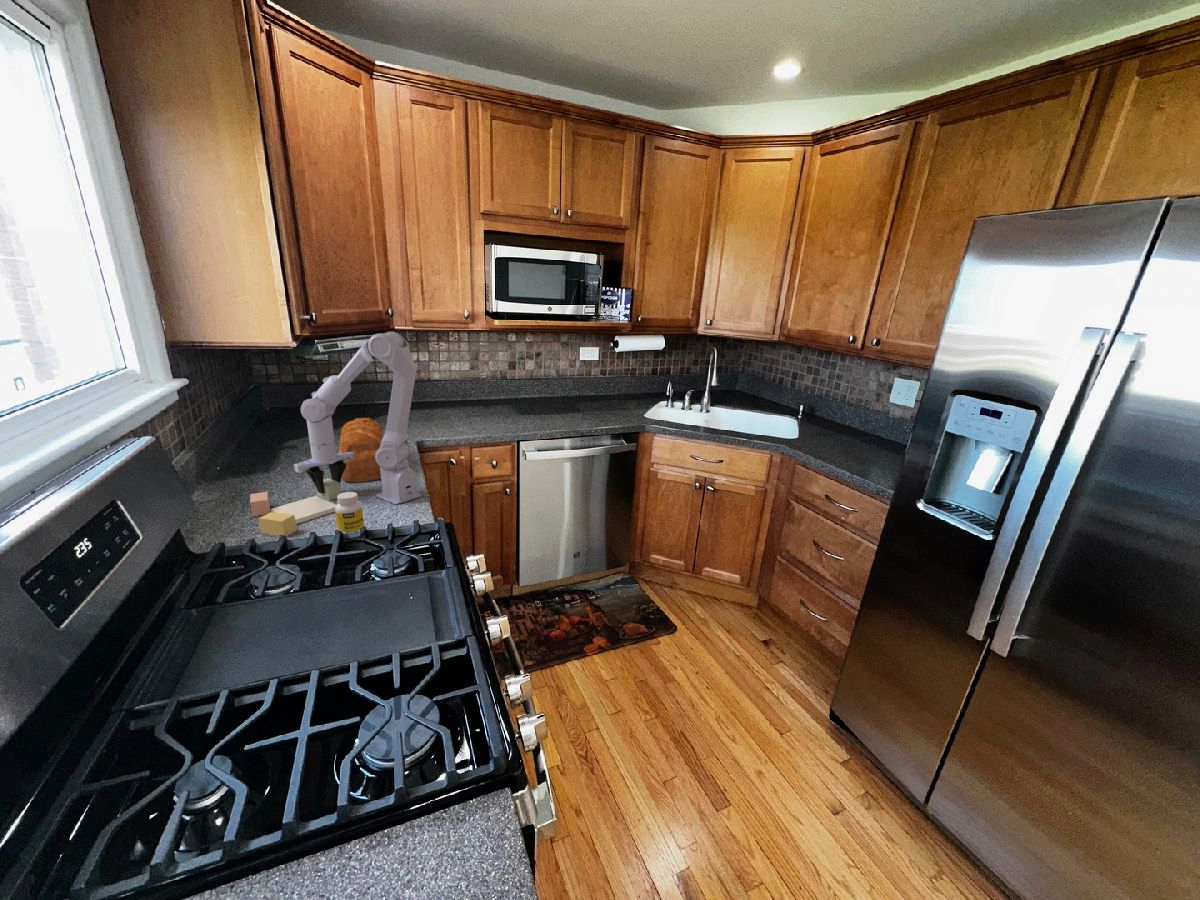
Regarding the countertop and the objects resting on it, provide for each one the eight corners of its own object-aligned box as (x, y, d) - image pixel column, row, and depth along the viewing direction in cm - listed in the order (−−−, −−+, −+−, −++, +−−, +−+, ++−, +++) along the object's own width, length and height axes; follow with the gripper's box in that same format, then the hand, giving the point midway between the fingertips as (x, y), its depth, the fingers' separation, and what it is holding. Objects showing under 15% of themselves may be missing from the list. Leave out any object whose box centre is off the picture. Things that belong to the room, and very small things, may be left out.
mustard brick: (296, 530, 109) (294, 514, 108) (284, 537, 106) (282, 521, 105) (274, 527, 110) (271, 512, 109) (261, 534, 107) (258, 518, 106)
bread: (387, 455, 165) (383, 411, 161) (391, 479, 143) (386, 430, 138) (343, 458, 160) (337, 414, 155) (339, 485, 137) (332, 434, 132)
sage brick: (342, 496, 129) (340, 483, 128) (329, 500, 126) (327, 486, 125) (330, 491, 132) (328, 478, 131) (317, 495, 129) (315, 481, 128)
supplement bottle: (344, 542, 105) (338, 501, 102) (334, 534, 108) (329, 494, 105) (369, 534, 109) (364, 495, 106) (359, 527, 112) (354, 488, 109)
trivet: (339, 510, 120) (338, 505, 120) (293, 525, 112) (292, 520, 111) (316, 499, 126) (316, 495, 126) (271, 513, 117) (270, 508, 117)
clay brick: (270, 514, 117) (267, 499, 116) (252, 517, 115) (250, 502, 114) (269, 506, 122) (267, 491, 120) (253, 508, 120) (250, 494, 119)
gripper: (341, 434, 132) (346, 479, 136) (285, 445, 121) (293, 494, 125) (355, 439, 129) (360, 485, 133) (299, 450, 117) (307, 501, 121)
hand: (329, 490), depth 128 cm, fingers closed on sage brick, 3 cm apart
